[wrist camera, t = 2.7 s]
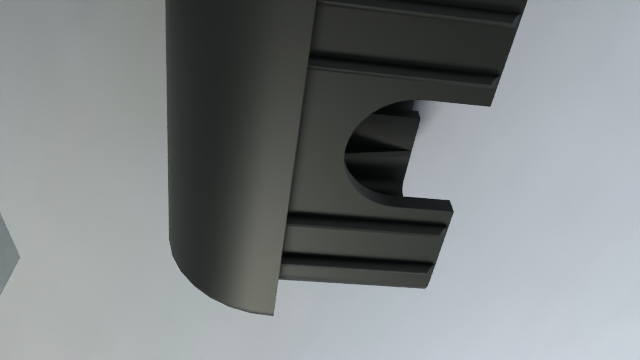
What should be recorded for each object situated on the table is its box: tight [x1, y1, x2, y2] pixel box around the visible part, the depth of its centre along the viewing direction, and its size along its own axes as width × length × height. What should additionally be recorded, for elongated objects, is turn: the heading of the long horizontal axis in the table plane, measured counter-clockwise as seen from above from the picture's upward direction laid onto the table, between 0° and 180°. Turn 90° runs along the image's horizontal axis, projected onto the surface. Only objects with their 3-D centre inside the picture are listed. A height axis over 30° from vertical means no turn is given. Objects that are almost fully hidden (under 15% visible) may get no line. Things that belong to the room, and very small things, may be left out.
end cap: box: [165, 0, 527, 316], centre depth 15 cm, size 10×7×7 cm
